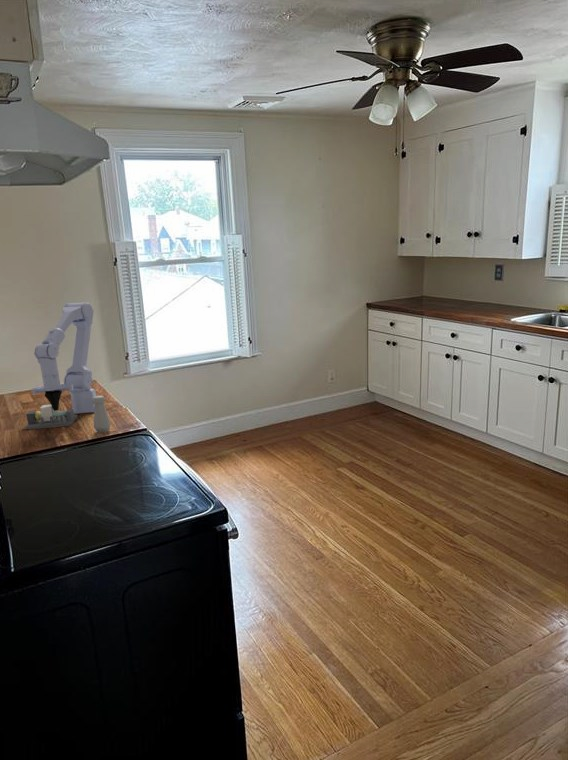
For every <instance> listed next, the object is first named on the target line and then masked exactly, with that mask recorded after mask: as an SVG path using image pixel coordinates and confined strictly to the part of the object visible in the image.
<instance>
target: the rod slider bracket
mask: <svg viewBox="0 0 568 760" xmlns="http://www.w3.org/2000/svg"><path fill="white" fill-rule="evenodd" d="M36 411H38V410H37V409H35V410H29V411H28V412H27V413H26V418H27V425H26V426H25V429H26V430H27V429H28V430H36V429H37V430H39V429H47V428H48V429H49V428H58V427H60V428H61V427H69V426H72V425H73V424H74V422H75V421H76V420H77V419H78V414H74V411H73V408H68V409H67V410H59V411H58V410H56V411H55V412H52V414H53V416H50V421H45V422H44V420H43V417H41V413H39V418H40V421H37V420H36V417H35V413H36ZM53 417H56V418H55V419H54V420H53ZM76 418H77V419H76Z"/></svg>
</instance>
